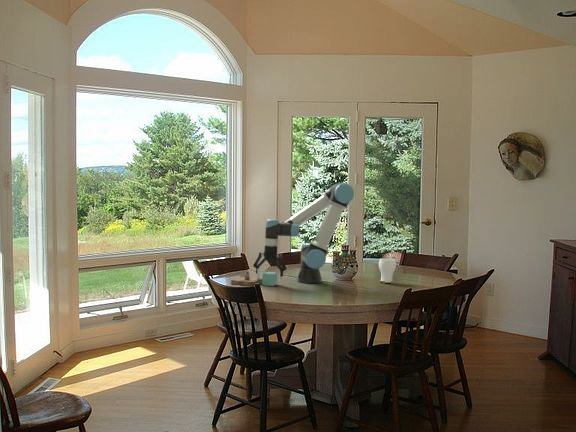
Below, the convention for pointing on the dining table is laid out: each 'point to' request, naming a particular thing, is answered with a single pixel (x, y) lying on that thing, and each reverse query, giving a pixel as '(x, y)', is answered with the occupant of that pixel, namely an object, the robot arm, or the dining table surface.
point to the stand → (246, 280)
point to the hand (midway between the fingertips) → (268, 280)
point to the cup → (387, 269)
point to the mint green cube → (269, 278)
